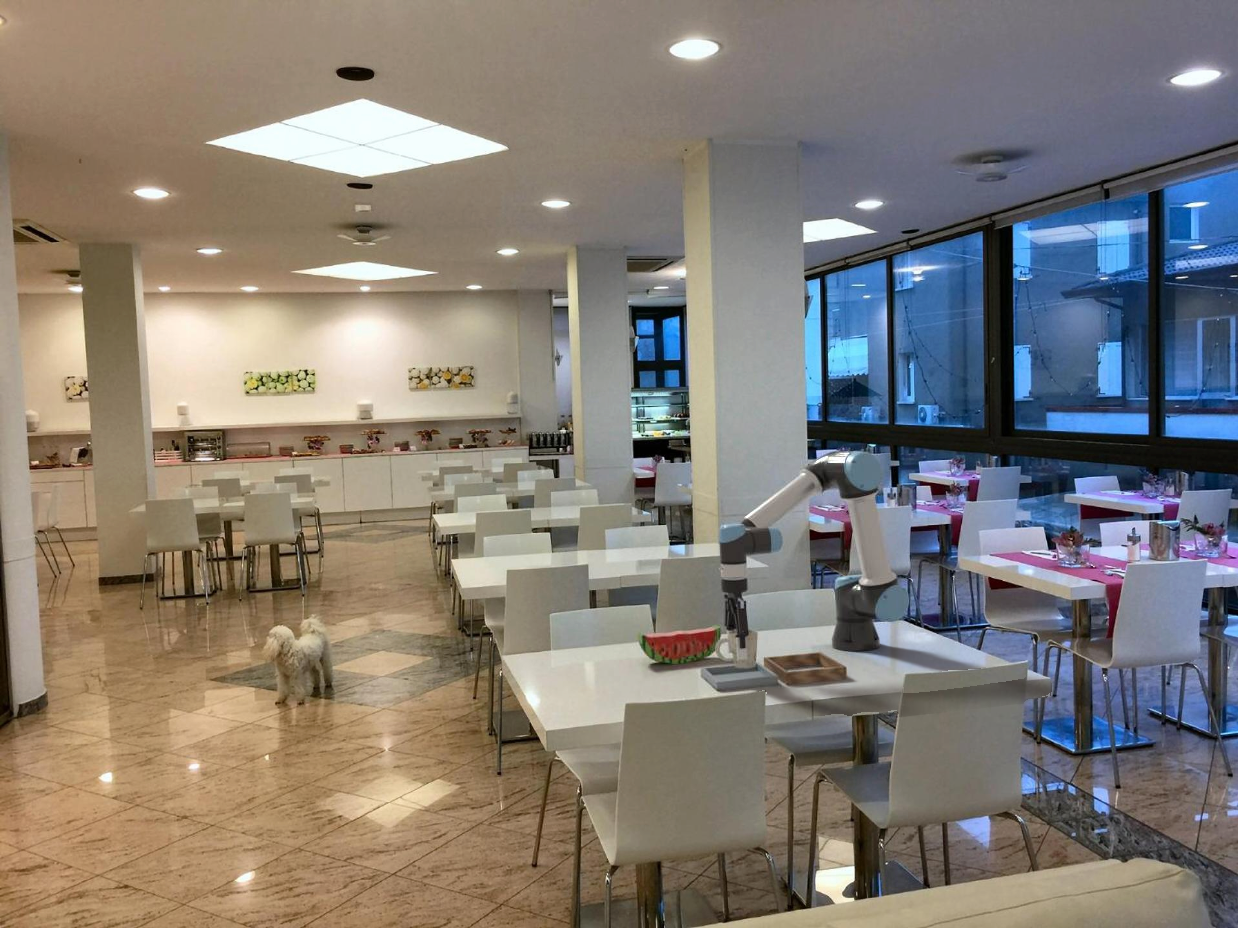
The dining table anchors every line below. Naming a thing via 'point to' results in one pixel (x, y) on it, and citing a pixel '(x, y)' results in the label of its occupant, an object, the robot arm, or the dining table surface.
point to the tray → (738, 677)
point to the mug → (751, 649)
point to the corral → (828, 673)
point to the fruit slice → (680, 645)
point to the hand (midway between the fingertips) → (737, 655)
